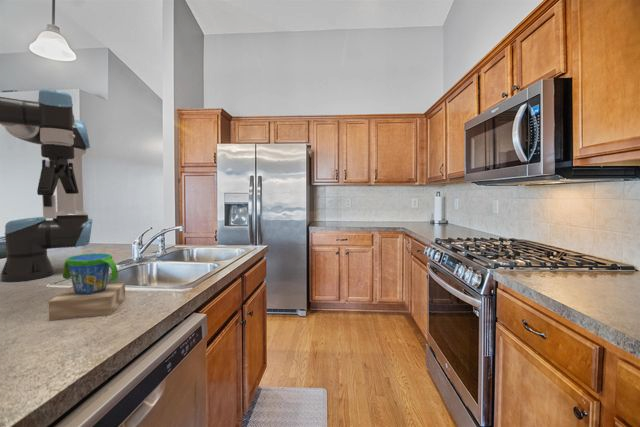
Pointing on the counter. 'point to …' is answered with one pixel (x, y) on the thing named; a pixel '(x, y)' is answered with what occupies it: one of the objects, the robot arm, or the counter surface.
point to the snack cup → (89, 272)
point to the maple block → (86, 303)
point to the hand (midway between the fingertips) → (60, 216)
